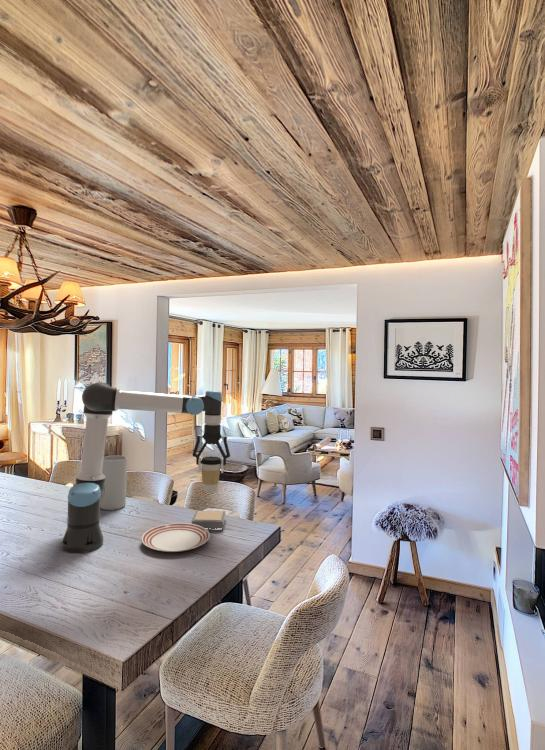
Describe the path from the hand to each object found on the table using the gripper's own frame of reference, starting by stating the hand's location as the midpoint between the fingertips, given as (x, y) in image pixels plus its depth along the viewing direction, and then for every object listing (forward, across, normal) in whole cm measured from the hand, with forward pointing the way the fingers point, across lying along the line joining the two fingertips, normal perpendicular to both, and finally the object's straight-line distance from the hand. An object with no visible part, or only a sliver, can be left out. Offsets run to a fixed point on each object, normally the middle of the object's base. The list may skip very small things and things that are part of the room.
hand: (210, 472), depth 192 cm
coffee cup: (+9, 0, 0) cm, 9 cm away
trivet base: (+24, 0, 0) cm, 24 cm away
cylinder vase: (+25, +52, -22) cm, 62 cm away
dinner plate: (+25, +11, +21) cm, 34 cm away
